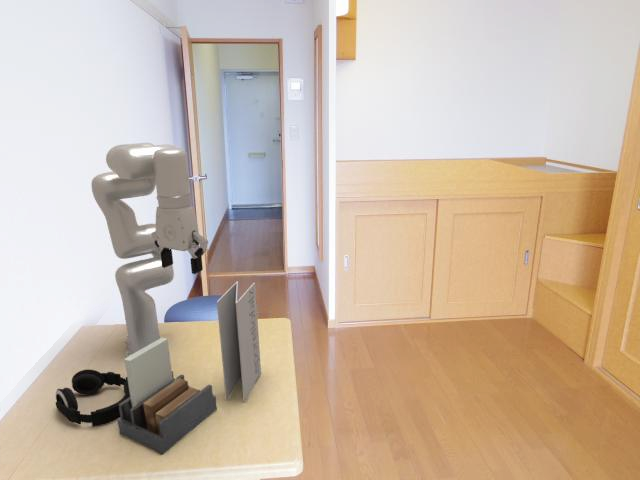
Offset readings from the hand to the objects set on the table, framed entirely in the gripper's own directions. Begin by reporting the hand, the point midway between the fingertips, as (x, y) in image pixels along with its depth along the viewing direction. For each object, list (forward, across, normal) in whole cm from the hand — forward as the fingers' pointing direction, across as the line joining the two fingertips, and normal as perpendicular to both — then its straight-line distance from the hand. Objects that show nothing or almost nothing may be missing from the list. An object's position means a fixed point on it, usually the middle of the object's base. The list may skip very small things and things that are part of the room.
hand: (182, 268), depth 115 cm
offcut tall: (+40, -2, -8) cm, 41 cm away
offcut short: (+40, +2, -8) cm, 41 cm away
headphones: (+41, -25, -12) cm, 49 cm away
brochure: (+40, +6, +13) cm, 43 cm away
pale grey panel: (+40, -7, -8) cm, 42 cm away
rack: (+40, -2, -8) cm, 41 cm away
